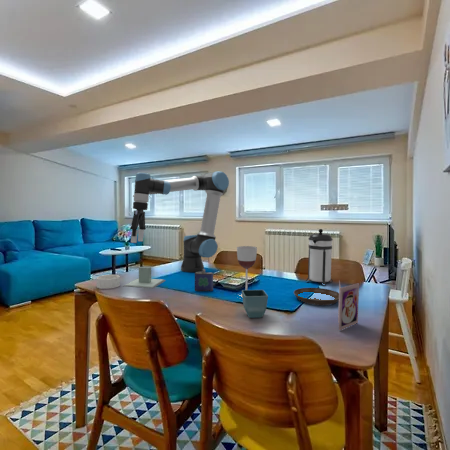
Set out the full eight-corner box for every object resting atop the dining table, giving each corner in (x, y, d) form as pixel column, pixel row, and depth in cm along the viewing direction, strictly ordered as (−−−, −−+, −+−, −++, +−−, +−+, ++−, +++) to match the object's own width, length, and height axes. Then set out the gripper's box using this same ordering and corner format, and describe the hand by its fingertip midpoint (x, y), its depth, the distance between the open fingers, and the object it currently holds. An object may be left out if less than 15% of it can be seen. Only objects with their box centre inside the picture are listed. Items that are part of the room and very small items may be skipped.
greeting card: (341, 332, 100) (342, 288, 99) (322, 325, 106) (323, 283, 105) (359, 324, 107) (361, 283, 106) (341, 318, 113) (342, 279, 112)
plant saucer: (284, 295, 141) (285, 289, 141) (320, 291, 148) (320, 285, 148) (312, 310, 122) (312, 302, 122) (351, 304, 129) (352, 297, 129)
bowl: (123, 284, 159) (123, 275, 158) (112, 290, 148) (112, 280, 148) (105, 283, 161) (105, 274, 160) (92, 288, 150) (92, 278, 150)
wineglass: (258, 294, 143) (258, 246, 141) (253, 300, 133) (254, 249, 132) (239, 292, 146) (240, 245, 144) (233, 298, 136) (234, 248, 135)
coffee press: (339, 286, 159) (341, 230, 157) (309, 285, 159) (310, 229, 157) (328, 278, 176) (330, 227, 174) (301, 278, 176) (302, 227, 174)
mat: (166, 281, 167) (166, 280, 167) (153, 289, 150) (153, 288, 150) (138, 279, 170) (138, 278, 170) (122, 287, 153) (122, 286, 153)
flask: (213, 289, 150) (213, 268, 149) (212, 291, 147) (212, 270, 146) (195, 289, 150) (194, 268, 149) (194, 291, 147) (194, 269, 147)
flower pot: (241, 311, 119) (241, 289, 118) (262, 311, 119) (263, 289, 119) (244, 320, 110) (244, 296, 109) (267, 319, 111) (268, 296, 110)
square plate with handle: (163, 280, 166) (163, 265, 165) (152, 287, 151) (151, 271, 151) (138, 279, 169) (138, 264, 168) (125, 286, 154) (124, 269, 154)
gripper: (139, 203, 170) (136, 240, 170) (126, 199, 145) (122, 242, 145) (152, 204, 171) (149, 241, 170) (142, 200, 146) (138, 244, 146)
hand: (137, 242), depth 158 cm, fingers open, 13 cm apart
